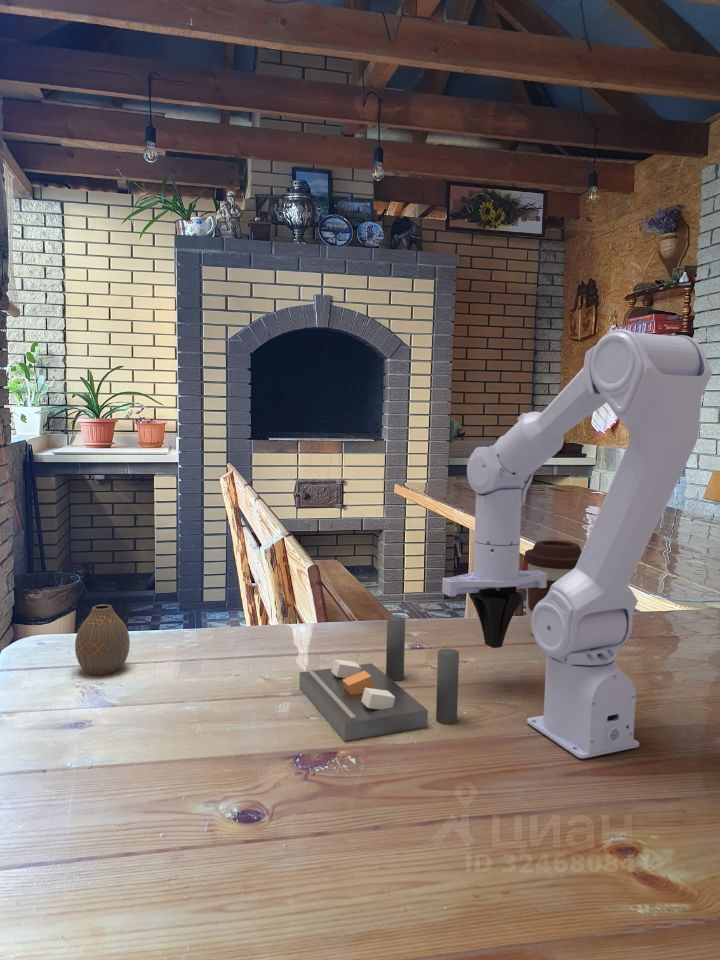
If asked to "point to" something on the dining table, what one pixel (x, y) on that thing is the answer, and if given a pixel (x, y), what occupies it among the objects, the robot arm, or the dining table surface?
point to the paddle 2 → (377, 698)
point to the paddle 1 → (345, 668)
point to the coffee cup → (550, 565)
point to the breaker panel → (361, 705)
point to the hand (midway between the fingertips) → (493, 645)
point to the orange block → (358, 683)
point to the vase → (102, 641)
